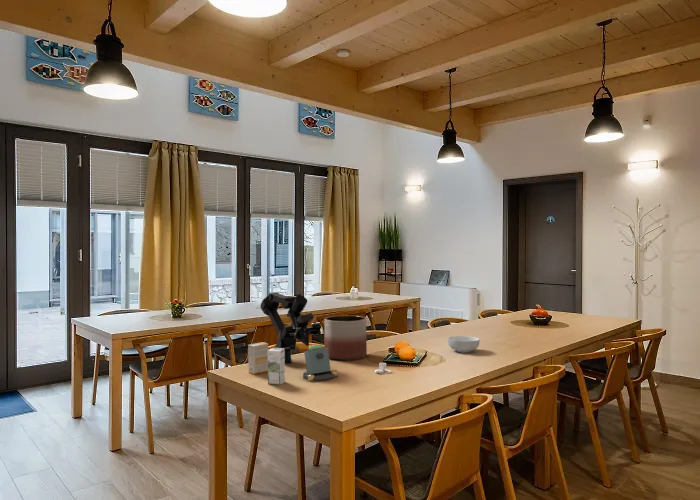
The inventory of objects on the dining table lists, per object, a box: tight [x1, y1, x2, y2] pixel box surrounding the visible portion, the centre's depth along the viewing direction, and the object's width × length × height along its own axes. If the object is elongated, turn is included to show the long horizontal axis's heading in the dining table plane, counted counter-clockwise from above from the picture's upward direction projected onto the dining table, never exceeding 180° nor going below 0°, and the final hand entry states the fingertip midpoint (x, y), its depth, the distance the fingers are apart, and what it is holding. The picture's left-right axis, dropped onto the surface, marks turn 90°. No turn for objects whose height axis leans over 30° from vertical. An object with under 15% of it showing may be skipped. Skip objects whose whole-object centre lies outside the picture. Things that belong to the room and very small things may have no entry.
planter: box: [323, 314, 368, 361], centre depth 263 cm, size 22×22×20 cm
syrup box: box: [267, 347, 286, 386], centre depth 214 cm, size 6×6×14 cm
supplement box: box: [247, 341, 269, 375], centre depth 232 cm, size 8×5×13 cm, turn 134°
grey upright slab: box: [304, 343, 332, 374], centre depth 223 cm, size 6×10×12 cm, turn 123°
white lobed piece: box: [374, 362, 392, 375], centre depth 232 cm, size 9×8×4 cm
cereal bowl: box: [447, 335, 480, 354], centre depth 274 cm, size 17×17×7 cm
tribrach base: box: [302, 369, 339, 383], centre depth 224 cm, size 15×15×2 cm
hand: (307, 345), depth 231 cm, fingers closed
